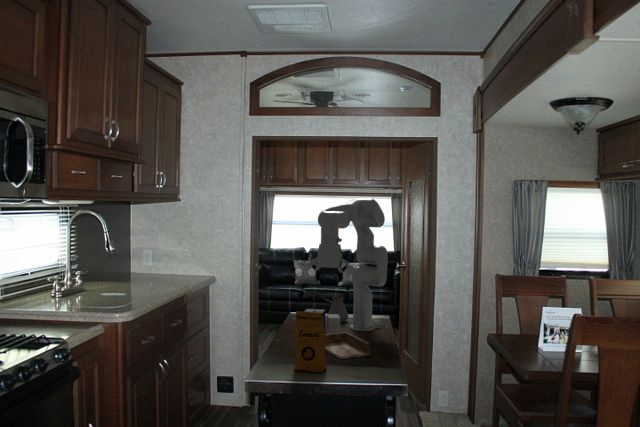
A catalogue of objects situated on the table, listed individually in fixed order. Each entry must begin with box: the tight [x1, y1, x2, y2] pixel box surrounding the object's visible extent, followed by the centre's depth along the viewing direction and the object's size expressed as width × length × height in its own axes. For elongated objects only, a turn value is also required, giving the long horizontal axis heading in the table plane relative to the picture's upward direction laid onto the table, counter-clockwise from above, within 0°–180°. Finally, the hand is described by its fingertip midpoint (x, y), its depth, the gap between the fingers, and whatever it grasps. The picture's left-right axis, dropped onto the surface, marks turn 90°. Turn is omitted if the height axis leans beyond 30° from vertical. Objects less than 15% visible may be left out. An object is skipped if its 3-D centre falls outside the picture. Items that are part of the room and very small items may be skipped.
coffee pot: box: [309, 291, 349, 323], centre depth 260 cm, size 21×12×15 cm, turn 76°
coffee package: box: [293, 311, 328, 373], centre depth 181 cm, size 10×12×22 cm
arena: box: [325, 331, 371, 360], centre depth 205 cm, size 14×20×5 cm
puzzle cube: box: [303, 308, 327, 330], centre depth 237 cm, size 10×10×10 cm
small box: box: [326, 313, 341, 334], centre depth 225 cm, size 8×6×10 cm
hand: (329, 281), depth 204 cm, fingers open, 9 cm apart
